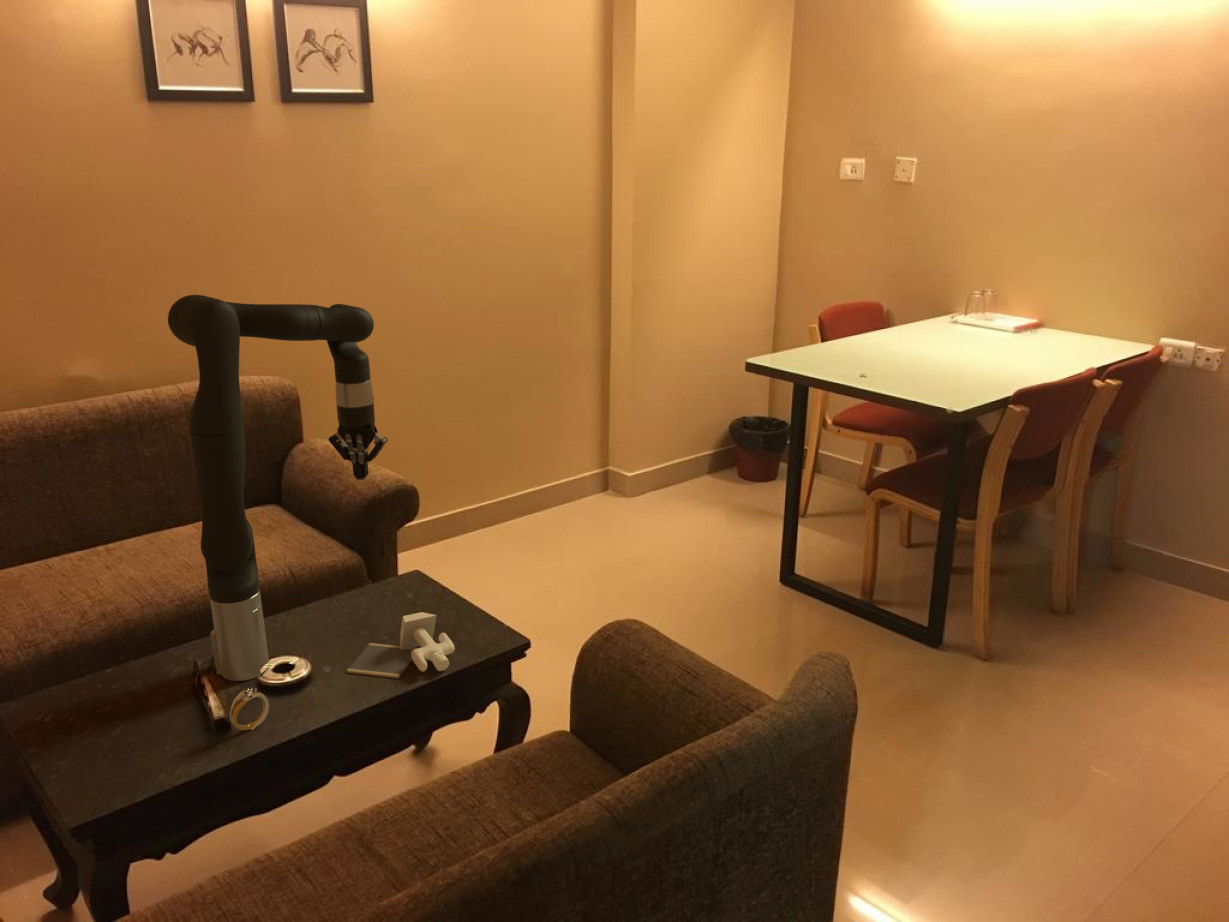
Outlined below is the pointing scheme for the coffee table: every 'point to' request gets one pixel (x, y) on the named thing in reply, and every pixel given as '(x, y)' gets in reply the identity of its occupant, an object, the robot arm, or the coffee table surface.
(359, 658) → the felt mat
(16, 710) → the coffee table surface
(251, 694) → the ring
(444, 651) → the figurine
